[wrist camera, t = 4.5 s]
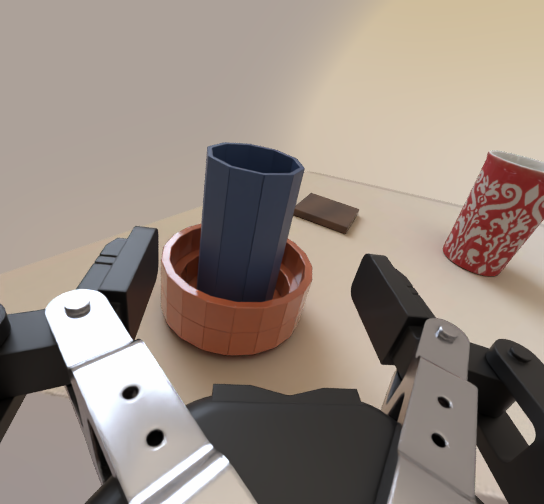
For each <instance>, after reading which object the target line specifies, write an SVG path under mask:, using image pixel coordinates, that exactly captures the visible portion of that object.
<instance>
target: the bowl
mask: <svg viewBox="0 0 544 504" xmlns="http://www.w3.org/2000/svg"><path fill="white" fill-rule="evenodd" d="M200 237H201V224H198V225H194V226H191V227H188V228H185V229H183V230H182V231H180V232H178V233H176V234H174V235H173V236H172V237H171V238H170V240H169V241H168V242H167V243H166V244H165V245H164V247H163V252H162V258H161V308H162V311H163V314H164V317H165V320H166V322H167V324H168V325H169V326H170V327H171V328H172V329H173V331H174V332H175V333H176V334H177V335H178V336H179V337H180V338H182V339H183V340H185V341H187V342H189V343H191V344H192V345H194V346H196V347H198V348H200V349H202V350H205V351H209V352H214V353H218V354H222V355H252V354H257V353H260V352H263V351H266V350H269V349H272V348H275V347H277V346H278V345H279V344H281V343H282V342H283V341H285V340H286V339H288V338H289V337H290V336H291V335H292V333H293V331H294V329H295V328H296V326H297V324H298V323H299V319H300V316H301V313H302V310H303V307H304V304H305V301H306V297H307V294H308V291H309V288H310V285H311V282H312V265H311V263H310V261H309V259H308V257H307V255H306V254H305V253H304V252H303V251H302V250H301V249H300V248H299V247H298V246H297V245H296V244H295V243H294V242H292V241H291V240H289V239H288V238H287V242H286V246H285V250H284V254H283V258H282V262H281V266H280V270H279V275H278V279H277V283H276V287H275V291H274V295H273V299H272V300H268V301H264V302H235V301H230V300H226V299H222V298H217V297H213V296H210V295H208V294H206V293H204V292H202V291H200V290H197V276H198V263H199V250H200Z"/></svg>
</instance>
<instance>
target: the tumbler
mask: <svg viewBox="0 0 544 504" xmlns="http://www.w3.org/2000/svg"><path fill="white" fill-rule="evenodd" d="M303 173H304V167H303V166H302V164H301V163H300V162H299V161H298V159H296V158H294V157H292V156H289V155H287V154H285V153H282V152H280V151H278V150H275V149H270V148H265V147H261V146H257V145H252V144H243V143H220V144H217V145H212V146H208V147H207V159H206V173H205V185H204V198H203V211H202V224H201V237H200V250H199V263H198V276H197V290H200V291H202V292H204V293H206V294H208V295H210V296H213V297H217V298H222V299H226V300H230V301H235V302H264V301H268V300H272V299H273V295H274V291H275V287H276V283H277V279H278V275H279V270H280V266H281V262H282V258H283V254H284V250H285V246H286V242H287V238H288V234H289V230H290V226H291V222H292V218H293V214H294V209H295V205H296V201H297V197H298V193H299V189H300V185H301V181H302V177H303Z"/></svg>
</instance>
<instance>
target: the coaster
mask: <svg viewBox="0 0 544 504" xmlns="http://www.w3.org/2000/svg"><path fill="white" fill-rule="evenodd" d="M358 212H359V209H357V208H354V207H351V206H348V205H345V204H342V203H339V202H336V201H333V200H330V199H328V198H325V197H322V196H319V195H316V194H313V193H310V194H309V195H308V196H307V197H306V198H304V199H303V200H302V201H301V202H300V203H298V204H297V205H296V206H295V209H294V214H293V215H295V216H298V217H301V218H303V219H306V220H309V221H312V222H314V223H317V224H320V225H322V226H325V227H328V228H331V229H333V230H336V231H339V232H341V233H344V234H346V233H347V231H348V229H349V228H350V226H351V224H352V223H353V221H354V219H355V218H356V216H357V214H358Z"/></svg>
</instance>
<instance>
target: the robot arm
mask: <svg viewBox="0 0 544 504" xmlns="http://www.w3.org/2000/svg"><path fill="white" fill-rule="evenodd" d="M157 274H158V229H157V228H149V227H140V226H135V227H134V228H133V230H132V232H131V233H130V235H129V237H128V238H127V239H124V238H117V239H115V240H113V241H112V242H110V243H108V244H107V245H106V246H105V247H104V249H103V250H102V252H101V253H100V256H98V258H97V259H96V260H95V263H94V264H93V265H92V266H91V268H90V269H89V271H88V272H87V274H86V275H85V277H84V278H83V280H82V281H81V283H80V284H79V285H78V287H77V288H76V290H73V291H69V292H66V293H63V294H61V295H59V296H57V297H56V298H54V299H53V300H52V301H51V302H50V303H49V304H48V306H47V308H46V309H42V310H37V311H30V312H23V313H15V314H8V315H7V314H6V311H5V308H4V307H3V305H1V304H0V442H1V441H2V439H3V437H4V435H5V433H6V431H7V429H8V428H9V426H10V424H11V422H12V420H13V418H14V417H15V415H16V413H17V411H18V409H19V407H20V406H21V404H22V402H23V400H24V398H25V396H26V394H29V393H33V392H38V391H42V390H46V389H51V388H55V387H60V386H65V388H66V391H67V393H68V396H69V398H70V401H71V404H72V406H73V409H74V411H75V414H76V416H77V419H78V421H79V424H80V426H81V429H82V432H83V434H84V437H85V440H86V443H87V445H88V449H89V452H90V455H91V458H92V461H93V464H94V466H95V469H96V472H97V474H98V477H99V480H100V482H101V485H102V486H101V487H100V488H99V489H98V490H97V491H96V492H95V493H94V494H93V495H92V496H91V497H90V498H89V499H88V501H87V502H86V503H85V504H484V503H483V502H482V501H481V500H480V499H479V498H478V497H477V496H476V495H475V470H476V445H477V447H478V449H479V450H480V452H481V454H482V456H483V458H484V460H485V461H486V463H487V465H488V467H489V469H490V471H491V472H492V474H493V476H494V478H495V480H496V482H497V483H498V485H499V487H500V489H501V491H502V493H503V494H504V496H505V498H506V500H507V502H508V504H544V364H543V363H542V362H541V361H540V360H539V359H538V358H537V357H536V356H535V355H534V354H533V353H532V352H531V351H529V350H528V349H527V348H525V347H523V346H522V345H520V344H518V343H516V342H513V341H510V340H506V339H498V340H496V341H495V342H494V344H493V345H492V346H491V347H490V349H489V348H486V347H483V346H480V345H476V344H473V343H470V342H469V339H468V337H467V336H466V335H465V333H464V332H463V331H462V330H460V329H459V328H458V327H457V326H455V325H454V324H452V323H450V322H448V321H446V320H443V319H439V318H436V317H435V316H434V315H433V313H432V312H431V310H430V309H429V308H428V306H427V305H426V304H425V302H424V301H423V299H422V298H421V297H420V295H418V293H417V291H416V290H415V288H413V286H412V284H411V283H410V281H409V280H408V279H407V277H405V276H404V275H403V274H402V273H400V272H399V271H398V270H397V269H395V268H394V267H393V265H392V264H391V262H390V261H389V260H388V258H387V257H386V256H383V255H375V254H365V255H364V257H363V258H362V261H361V263H360V266H359V268H358V271H357V273H356V276H355V278H354V280H353V283H352V286H351V297H352V300H353V302H354V304H355V307H356V309H357V311H358V313H359V316H360V318H361V320H362V322H363V325H364V327H365V329H366V331H367V334H368V336H369V338H370V340H371V342H372V345H373V347H374V349H375V351H376V354H377V356H378V358H379V360H380V363H381V364H382V365H395V366H396V368H397V369H396V371H395V372H394V374H393V376H392V379H391V382H390V385H389V388H388V391H387V393H386V396H385V399H384V402H383V405H382V408H381V410H379V409H377V408H375V407H373V406H371V405H369V404H366V403H364V402H361V400H360V397H359V394H358V392H357V389H339V388H321V389H317V390H313V391H308V392H304V393H300V394H295V395H284V394H281V393H277V392H273V391H270V390H266V389H263V388H259V387H255V386H252V385H232V384H213V391H212V396H209V397H205V398H202V399H199V400H196V401H194V402H192V403H189V404H187V405H185V404H184V403H183V401H182V400H181V398H180V397H179V395H178V394H177V392H176V391H175V389H174V388H173V386H172V384H171V383H170V381H169V380H168V378H167V377H166V375H165V374H164V372H163V371H162V369H161V368H160V366H159V365H158V363H157V362H156V360H155V358H154V357H153V355H152V354H151V352H150V351H149V349H148V348H147V346H146V345H145V343H144V342H143V341H142V340H141V339H137V340H135V337H136V334H137V332H138V329H139V326H140V323H141V321H142V318H143V315H144V312H145V309H146V307H147V304H148V301H149V298H150V296H151V293H152V290H153V287H154V285H155V282H156V279H157ZM515 401H516V402H517V403H518V404H519V406H520V407H521V408H522V410H523V411H524V413H525V414H526V415H527V417H528V418H529V419H530V421H531V422H532V424H533V426H534V428H535V432H536V438H535V440H534V442H533V443H532V444H531V445H530V446H529V445H528V444H527V442H526V441H525V439H524V438H523V436H522V435H521V433H520V432H519V430H518V429H517V427H516V426H515V424H514V423H513V421H512V420H511V419H510V417H509V416H508V414H507V413H506V410H507V409H508V408H509V407H510V406H511V405H512V404H513V403H514V402H515Z"/></svg>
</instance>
